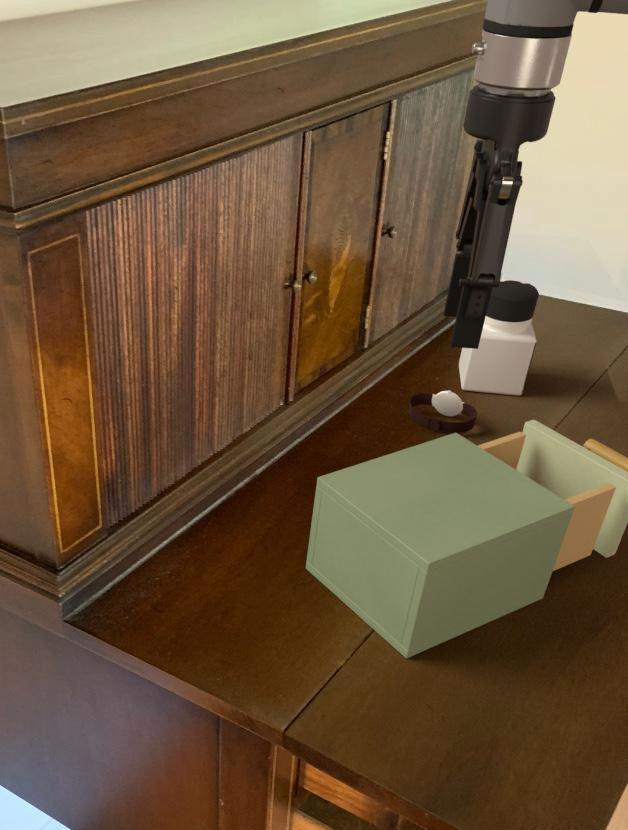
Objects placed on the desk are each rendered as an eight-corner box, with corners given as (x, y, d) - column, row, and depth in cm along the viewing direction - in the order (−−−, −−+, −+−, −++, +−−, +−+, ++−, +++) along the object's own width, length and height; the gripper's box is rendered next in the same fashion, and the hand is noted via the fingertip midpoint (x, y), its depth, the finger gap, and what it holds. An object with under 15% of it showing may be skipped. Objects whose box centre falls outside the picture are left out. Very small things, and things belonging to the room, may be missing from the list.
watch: (479, 424, 104) (486, 395, 102) (465, 441, 101) (472, 412, 99) (414, 406, 107) (420, 377, 105) (399, 422, 104) (405, 393, 102)
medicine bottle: (522, 396, 110) (549, 298, 102) (461, 391, 110) (483, 293, 103) (516, 370, 115) (541, 275, 107) (457, 365, 116) (479, 270, 108)
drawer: (556, 473, 95) (579, 404, 90) (659, 534, 86) (690, 462, 81) (402, 529, 86) (417, 457, 81) (500, 604, 78) (523, 528, 73)
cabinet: (435, 520, 89) (456, 432, 83) (543, 598, 80) (575, 506, 74) (305, 568, 83) (317, 477, 77) (406, 659, 74) (429, 563, 68)
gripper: (460, 64, 91) (417, 292, 105) (485, 110, 75) (431, 369, 90) (538, 67, 90) (484, 296, 105) (579, 114, 74) (510, 375, 89)
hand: (460, 330), depth 97 cm, fingers open, 7 cm apart
